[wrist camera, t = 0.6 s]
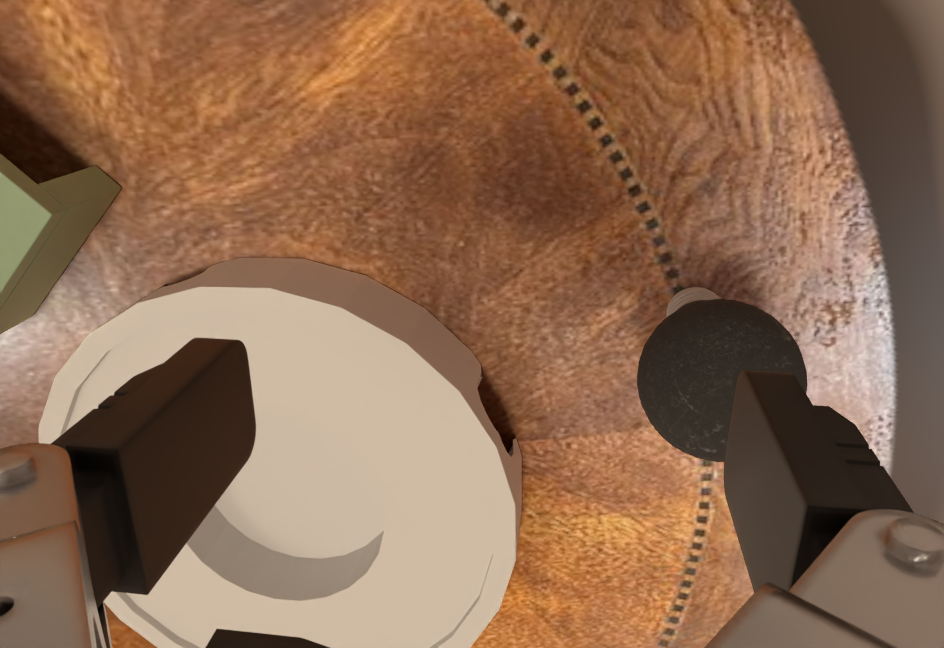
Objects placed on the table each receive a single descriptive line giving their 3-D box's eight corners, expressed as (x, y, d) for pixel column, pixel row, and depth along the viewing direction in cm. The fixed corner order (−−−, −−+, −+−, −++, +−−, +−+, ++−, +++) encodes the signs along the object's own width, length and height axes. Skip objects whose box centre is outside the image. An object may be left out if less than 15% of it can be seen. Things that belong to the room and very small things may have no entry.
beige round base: (601, 370, 35) (603, 413, 31) (433, 696, 44) (419, 758, 40) (128, 178, 34) (73, 199, 30) (60, 549, 43) (12, 599, 40)
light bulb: (731, 378, 34) (787, 515, 25) (610, 346, 34) (621, 470, 25) (779, 263, 32) (860, 367, 23) (649, 229, 32) (677, 319, 23)
